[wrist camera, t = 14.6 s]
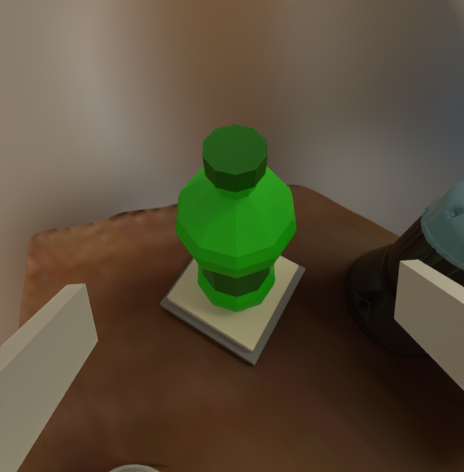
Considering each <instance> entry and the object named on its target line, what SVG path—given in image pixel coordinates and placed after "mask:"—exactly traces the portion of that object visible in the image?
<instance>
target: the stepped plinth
mask: <svg viewBox="0 0 464 472" xmlns="http://www.w3.org/2000/svg"><path fill="white" fill-rule="evenodd" d="M305 269H306V268H304V267H302V266H300V265H298V264H296V263H294V262H292V261H290V260H288V259H286V258H284V257H282V256H281V255H280V256H279V258H278V259H277V260H276V262H275V263H274V270H275V284H274V286H273V287H272V289H271V290H270V291H269V293H268V294H267V296H266V297H265V299H264V300H263V302H262V303H261V304H260V305H257V306H254V307H251V308H248V309H245V310H242V311H239V312H234V311H231V310H228V309H224V308H221V307H218V306H215V305H212V303H211V302H210V301H209V299H208V298H207V296H206V295H205V294H204V292H203V291H202V290H201V288H200V287H199V285H198V283H197V280H198V263H197V262H196V260H195V259H194V258H192V260H191V261H190V262H189V264H188V265H187V266H186V268H185V269H184V271H183V272H182V273H181V275H180V276H179V278H178V279H177V280H176V282H175V283H174V284H173V286H172V287H171V289H170V290H169V291H168V293H167V294H166V296H165V297H164V298H163V300H162V301H161V302H160V305H161V306H162V308H164V309H165V310H167V311H168V312H170V313H172V314H173V315H175V316H176V317H178V318H179V319H181V320H183V321H184V322H186V323H187V324H189V325H190V326H192V327H194V328H195V329H197V330H198V331H200V332H201V333H203V334H204V335H206V336H208V337H209V338H211V339H212V340H214V341H215V342H217V343H219V344H220V345H222V346H223V347H225V348H226V349H228V350H230V351H231V352H233V353H234V354H236V355H237V356H239V357H241V358H242V359H244V360H245V361H247V362H248V363H250V364H252V365H253V366H255V364H256V362H257V360H258V358H259V356H260V354H261V352H262V350H263V349H264V347H265V345H266V343H267V341H268V339H269V337H270V335H271V333H272V332H273V330H274V328H275V326H276V324H277V322H278V320H279V318H280V316H281V315H282V313H283V311H284V309H285V307H286V305H287V303H288V301H289V299H290V298H291V296H292V294H293V292H294V290H295V288H296V286H297V284H298V282H299V281H300V279H301V277H302V275H303V273H304V271H305Z"/></svg>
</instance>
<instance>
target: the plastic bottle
mask: <svg viewBox="0 0 464 472" xmlns="http://www.w3.org/2000/svg"><path fill="white" fill-rule="evenodd" d="M267 156H268V155H267V143H266V139H265V138H263V137H262V136H261V135H260V134H259V133H258V132H257V131H256V130H255V129H253V128H249V127H244V126H239V125H235V124H234V125H231V126H226V127H222V128H218V129H215V130H214V131H213V132H212V133H211V134H210V135H209V136H208V137H207V138H206V139H205V140H204V141H203V163H204V168H202V169H201V170H200V171H199V172H198V173H197V174H196V175H195V176H194V177H193V178H192V179H191V180H190V181H189V182H188V184H187V185H186V186H185V187H184V188H183V189H182V190H181V192H180V195H179V197H178V207H177V219H176V233H177V236H178V238H179V239H180V241H181V242H182V243H183V245H184V246H185V247H186V249H187V250H188V251H189V253H190V254H191V255H192V256H193V258H194V259H195V260H196V262H197V263H198V280H197V283H198V285H199V287H200V288H201V290H202V291H203V292H204V294H205V295H206V296H207V298H208V299H209V301H210V302H211V303H212V305H215V306H218V307H221V308H224V309H228V310H231V311H234V312H239V311H242V310H245V309H248V308H251V307H254V306H257V305H260V304H261V303H262V302H263V300H264V299H265V297H266V296H267V294H268V293H269V291H270V290H271V289H272V287H273V286H274V284H275V270H274V263H275V262H276V260H277V259H278V258H279V256H280V255H281V253H282V252H283V250H284V249H285V248H286V246H287V245H288V243H289V242H290V240H291V239H292V237H293V236H294V234H295V231H296V220H295V213H294V205H293V197H292V193H291V191H290V188H289V187H288V186H287V185H286V184H284V183H283V182H282V181H281V180H280V179H279V178H278V177H277V176H276V175H275V174H274V173H273V172H272V171H271V170H270V169H269V168H268V167H267V166H266V164H267Z"/></svg>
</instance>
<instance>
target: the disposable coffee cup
mask: <svg viewBox="0 0 464 472" xmlns="http://www.w3.org/2000/svg"><path fill="white" fill-rule="evenodd" d="M110 472H175V471H174V470H173V469H171V468H170V467H168V466H163V465H156V466H145V465H138V464H132V465H124V466H120V467H118V468H115V469H113V470H112V471H110Z"/></svg>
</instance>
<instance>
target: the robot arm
mask: <svg viewBox="0 0 464 472" xmlns="http://www.w3.org/2000/svg"><path fill="white" fill-rule="evenodd" d="M346 293H347V300H348V305H349V308H350V310H351V313H352V315H353V317H354V319H355V320H356V322H357V323H358V325H359V326H360V327H361V329H362V330H363V331H364V332H365V333H366V334H367V335H368V336H369V337H370V338H372V339H373V340H374V341H375V342H377V343H378V344H380V345H382V346H383V347H385V348H387V349H389V350H392V351H395V352H398V353H401V354H407V355H423V354H429V355H430V356H431V357H432V358H433V359H434V360H435V361H436V362H437V363H438V364H439V366H440V367H441V368H442V369H443V370H444V371H445V372H446V373H447V374H448V375H449V376H450V377H451V378H452V379H453V380H454V381H455V382H456V383H457V384H458V385H459V386H460V387H461V388H462V389H463V390H464V179H463V180H461V181H460V182H458V183H456V184H455V185H453V186H452V187H451V188H450V189H449V190H448V191H447V192H445V193H444V194H443V195H442V196H440V197H439V198H437V199H435V200H434V201H432V202H431V203H430V204H429V205H428V206H427V208H426V209H425V212H424V213H423V214H422V216H421V217H420V218H419V219H418V220H417V221H416V222H415V223H414V224H413V225H412V226H411V227H410V228H409V229H408V230H407V231H406V232H405V233H404V234H403V235H402V236H401V237H400V238H399V239H398V240H397V241H396V242H395V243H393V244H390V245H387V246H383V247H379V248H376V249H374V250H372V251H370V252H368V253H367V254H366V255H364V256H363V257H362V258H361V259H360V260H359V261H358V262H357V264H356V265H355V266H354V267H353V269H352V270H351V272H350V275H349V277H348V281H347V288H346ZM97 341H98V338H97V333H96V329H95V324H94V320H93V315H92V311H91V306H90V302H89V297H88V293H87V288H86V284H71V285H66V286H65V287H64V288H63V289H62V290H61V291H60V292H58V293H57V294H56V295H55V296H54V297H53V298H52V299H51V300H50V301H49V302H48V303H47V304H46V305H44V306H43V307H42V308H41V309H40V310H39V311H38V312H37V313H36V314H35V315H34V316H33V317H32V318H30V319H29V320H28V321H27V322H26V323H25V324H24V325H23V326H22V327H21V328H20V329H19V330H18V331H17V332H15V333H14V334H13V335H12V336H11V337H10V338H9V339H8V340H7V341H6V342H5V343H4V344H2V345H1V346H0V472H17V470H18V469H19V467H20V465H21V464H22V462H23V461H24V459H25V457H26V456H27V454H28V453H29V451H30V449H31V448H32V446H33V445H34V443H35V441H36V440H37V438H38V436H39V435H40V433H41V432H42V430H43V428H44V427H45V425H46V424H47V422H48V420H49V419H50V417H51V416H52V414H53V412H54V411H55V409H56V407H57V406H58V404H59V403H60V401H61V399H62V398H63V396H64V395H65V393H66V391H67V390H68V388H69V387H70V385H71V383H72V382H73V380H74V378H75V377H76V375H77V374H78V372H79V370H80V369H81V367H82V366H83V364H84V362H85V361H86V359H87V358H88V356H89V354H90V353H91V351H92V349H93V348H94V346H95V345H96V343H97Z"/></svg>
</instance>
